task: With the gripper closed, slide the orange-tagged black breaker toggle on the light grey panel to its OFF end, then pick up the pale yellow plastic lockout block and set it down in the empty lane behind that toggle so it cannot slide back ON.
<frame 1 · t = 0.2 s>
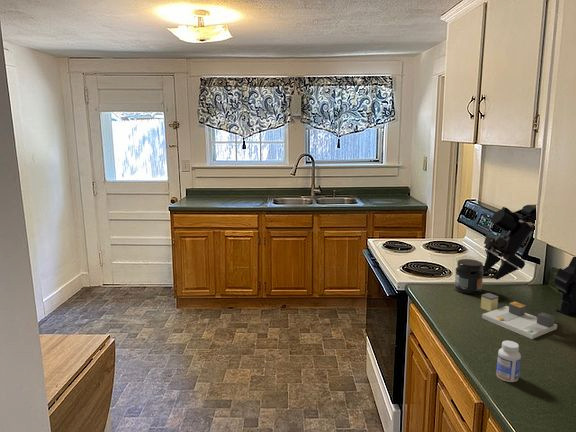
hand: (489, 274, 154), 15 cm above the table, tool tilted 30°, fingers open, 9 cm apart
supplement container: (467, 290, 179), on the table
lockout block: (488, 308, 161), on the table
pill bottle: (507, 377, 117), on the table
tagged toggle: (517, 308, 152), point 3 cm above the table, slide at 0.0 cm
plain toggle: (545, 319, 144), point 3 cm above the table, slide at 0.0 cm
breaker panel: (518, 323, 149), on the table
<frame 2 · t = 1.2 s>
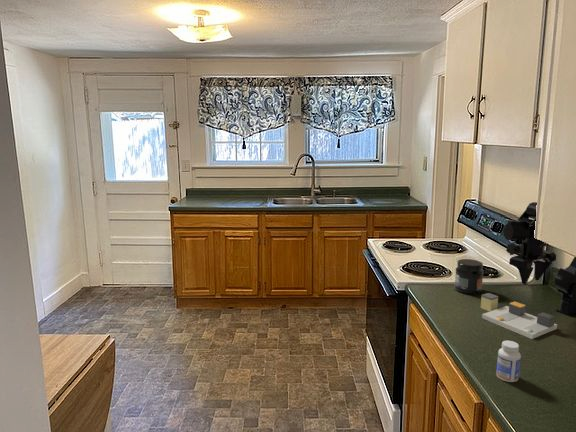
hand: (530, 282, 154), 12 cm above the table, tool pointing down, fingers open, 7 cm apart
nothing on the table moved.
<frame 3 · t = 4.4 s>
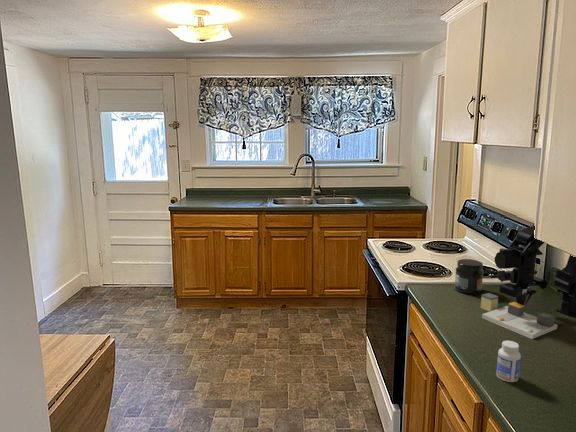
hand: (520, 309, 154), 3 cm above the table, tool pointing down, fingers closed
tagged toggle: (516, 309, 152), point 3 cm above the table, slide at 0.6 cm, touching gripper
everything else where it was.
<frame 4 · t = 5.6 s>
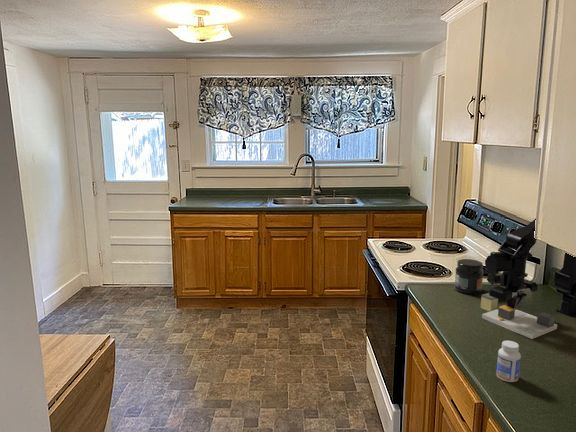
hand: (511, 312, 151), 3 cm above the table, tool pointing down, fingers closed
tagged toggle: (506, 312, 149), point 3 cm above the table, slide at 6.1 cm, touching gripper
everything else where it was.
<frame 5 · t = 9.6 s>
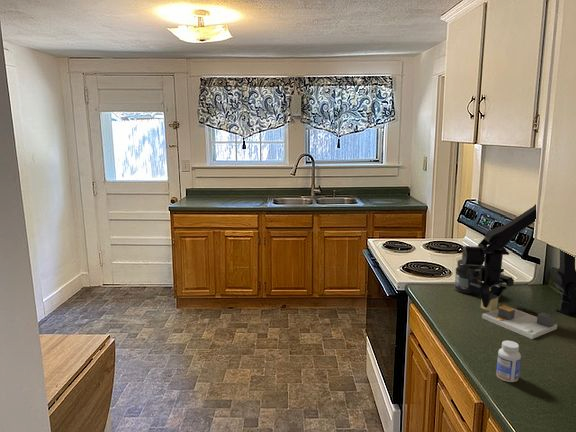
hand: (489, 305, 161), 1 cm above the table, tool pointing down, fingers closed on lockout block, 4 cm apart
lockout block: (488, 308, 161), on the table, touching gripper
tagged toggle: (506, 312, 149), point 3 cm above the table, slide at 6.0 cm
everything else where it was.
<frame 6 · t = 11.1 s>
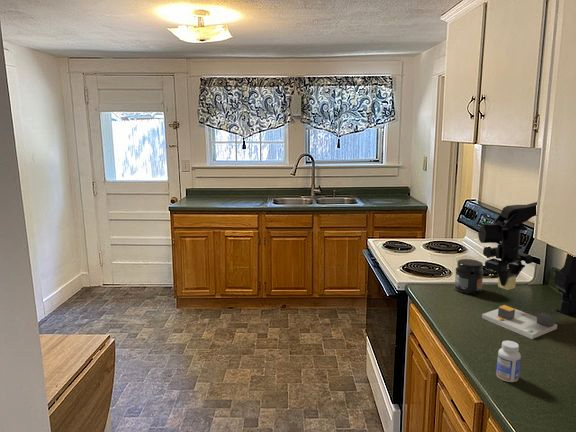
hand: (506, 284, 156), 11 cm above the table, tool pointing down, fingers closed on lockout block, 4 cm apart
lockout block: (506, 287, 156), point 10 cm above the table, touching gripper
everything else where it was.
when the fingers open (4 cm above the table, at t = 12.9 s): lockout block drops 2 cm, resting on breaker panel.
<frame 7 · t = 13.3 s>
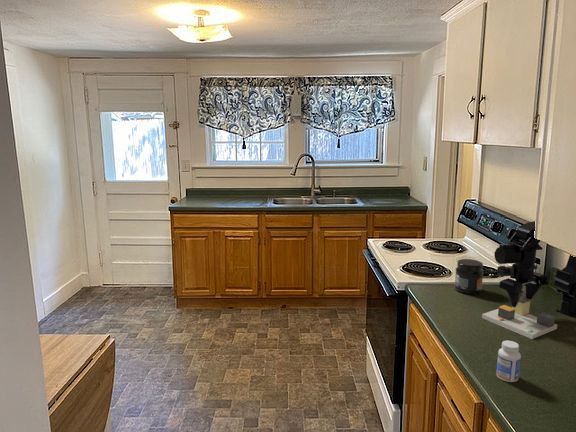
hand: (520, 304, 153), 4 cm above the table, tool pointing down, fingers open, 8 cm apart
lockout block: (520, 312, 154), point 2 cm above the table, touching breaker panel
everything else where it was.
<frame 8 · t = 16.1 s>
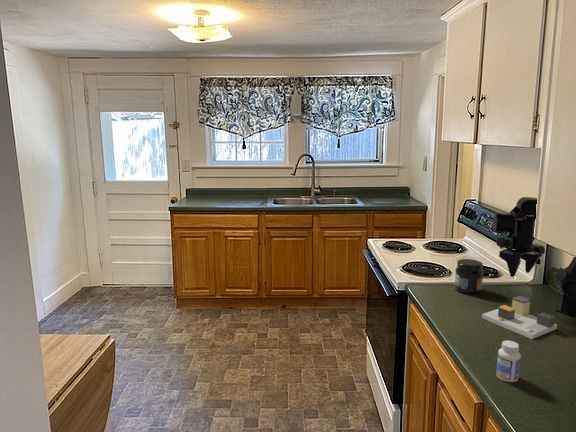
hand: (519, 274, 159), 13 cm above the table, tool pointing down, fingers open, 9 cm apart
nothing on the table moved.
at the end: tagged toggle slide at 6.0 cm; lockout block inside the target area (0.9 cm from its centre), point 1.6 cm above the table; plain toggle slide at 0.0 cm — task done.
